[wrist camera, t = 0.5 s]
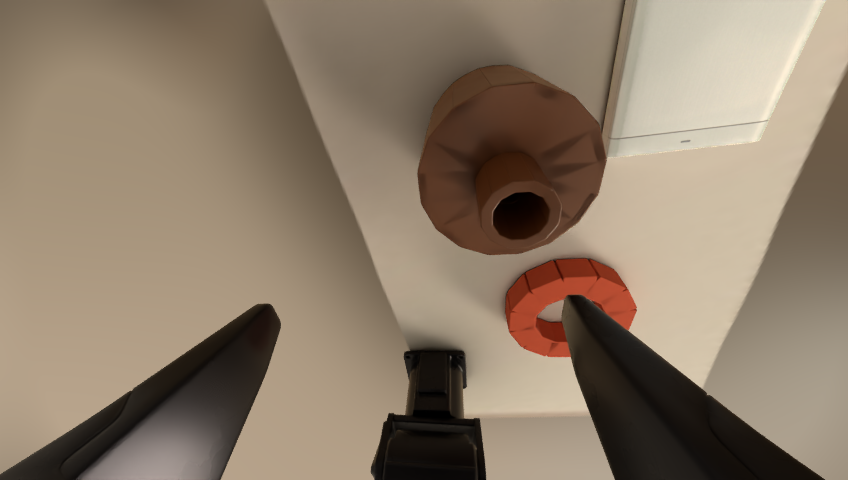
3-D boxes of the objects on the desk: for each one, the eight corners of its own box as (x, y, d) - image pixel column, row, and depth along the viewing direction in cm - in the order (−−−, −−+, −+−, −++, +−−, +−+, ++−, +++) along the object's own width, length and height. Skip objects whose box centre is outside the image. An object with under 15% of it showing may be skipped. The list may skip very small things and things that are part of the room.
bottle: (548, 191, 21) (610, 293, 13) (433, 198, 22) (423, 297, 14) (567, 57, 17) (679, 85, 9) (421, 73, 18) (396, 112, 10)
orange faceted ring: (607, 337, 29) (617, 357, 28) (503, 337, 30) (506, 357, 29) (637, 256, 24) (652, 274, 22) (508, 260, 25) (512, 278, 23)
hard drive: (670, -164, 11) (607, 159, 18) (941, -230, 10) (765, 142, 17) (646, -143, 13) (596, 151, 20) (884, -199, 12) (742, 134, 18)
